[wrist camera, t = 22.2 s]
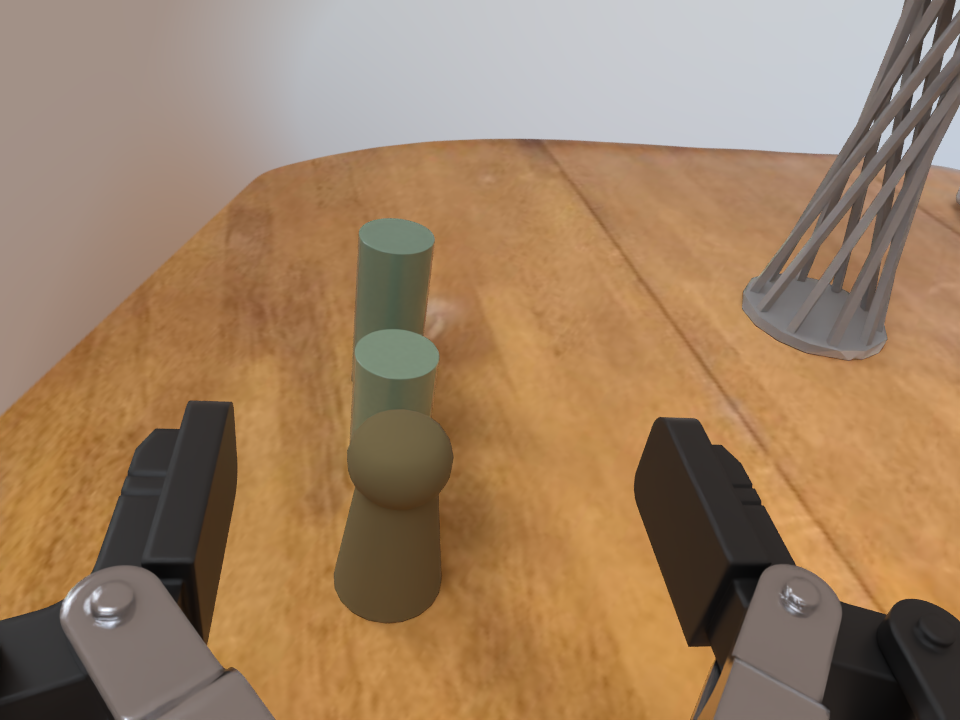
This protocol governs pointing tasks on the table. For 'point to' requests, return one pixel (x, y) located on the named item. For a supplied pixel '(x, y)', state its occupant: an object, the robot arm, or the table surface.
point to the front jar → (393, 374)
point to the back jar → (392, 277)
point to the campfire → (958, 197)
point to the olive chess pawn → (393, 516)
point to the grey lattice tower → (861, 313)
